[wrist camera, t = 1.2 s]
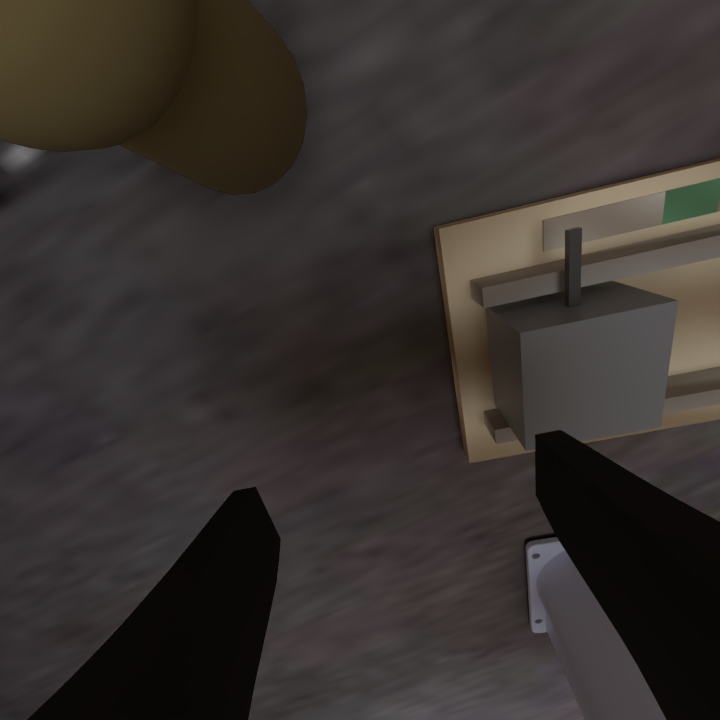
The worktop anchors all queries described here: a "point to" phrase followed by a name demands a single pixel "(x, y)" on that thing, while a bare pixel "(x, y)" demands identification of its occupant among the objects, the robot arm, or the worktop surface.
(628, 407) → the gauge carriage
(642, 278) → the gauge board
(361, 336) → the worktop surface
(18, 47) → the cork
